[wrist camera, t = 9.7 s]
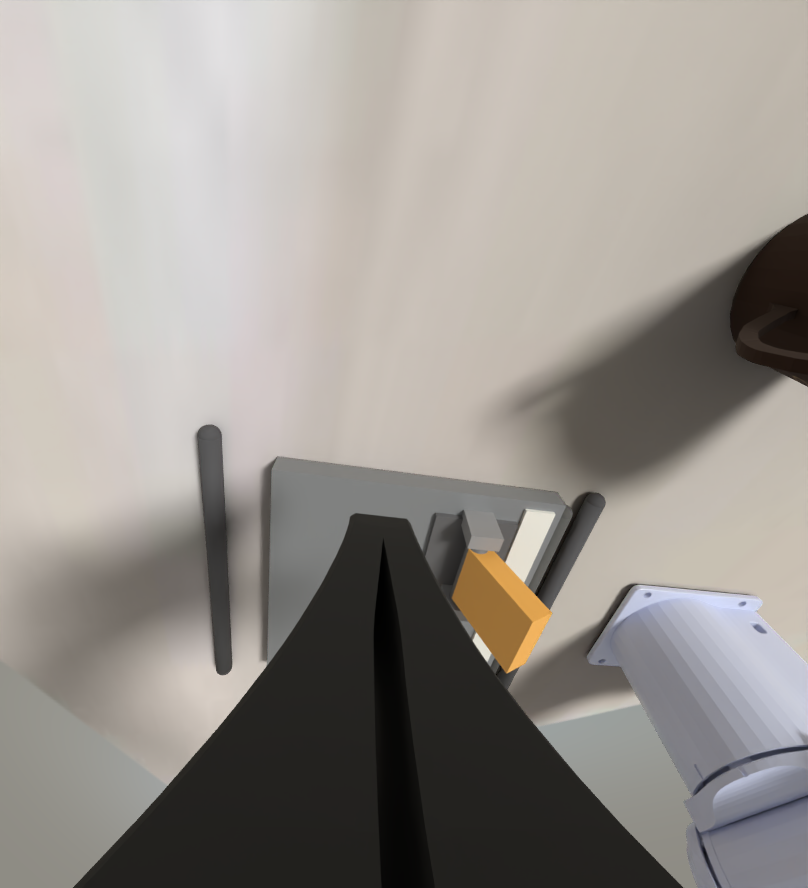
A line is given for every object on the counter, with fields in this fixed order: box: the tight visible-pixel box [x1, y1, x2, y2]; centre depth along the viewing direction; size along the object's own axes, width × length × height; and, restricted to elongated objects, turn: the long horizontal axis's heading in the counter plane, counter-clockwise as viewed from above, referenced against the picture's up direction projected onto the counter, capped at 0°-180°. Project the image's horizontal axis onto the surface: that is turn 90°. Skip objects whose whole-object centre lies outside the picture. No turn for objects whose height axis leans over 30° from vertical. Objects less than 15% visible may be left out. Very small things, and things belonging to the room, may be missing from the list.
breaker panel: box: [267, 457, 566, 667], centre depth 22 cm, size 15×16×3 cm
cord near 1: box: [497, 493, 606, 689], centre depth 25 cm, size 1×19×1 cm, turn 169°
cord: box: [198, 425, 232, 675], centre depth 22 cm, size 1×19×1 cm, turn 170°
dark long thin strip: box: [491, 505, 573, 674], centre depth 25 cm, size 1×17×1 cm, turn 170°
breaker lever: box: [450, 545, 552, 674], centre depth 19 cm, size 1×4×5 cm, turn 170°
